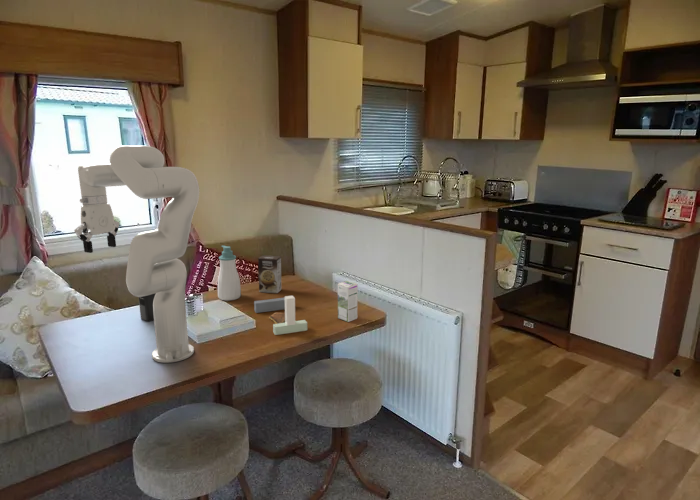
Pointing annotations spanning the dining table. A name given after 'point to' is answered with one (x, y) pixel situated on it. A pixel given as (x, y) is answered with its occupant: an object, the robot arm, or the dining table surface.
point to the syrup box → (347, 301)
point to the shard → (278, 317)
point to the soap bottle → (228, 276)
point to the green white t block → (289, 319)
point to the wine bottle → (146, 307)
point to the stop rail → (269, 305)
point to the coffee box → (269, 274)
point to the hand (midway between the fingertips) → (100, 249)
